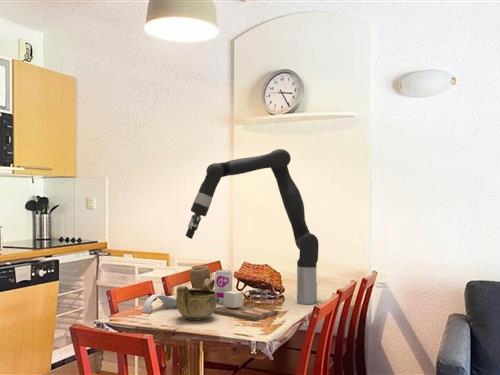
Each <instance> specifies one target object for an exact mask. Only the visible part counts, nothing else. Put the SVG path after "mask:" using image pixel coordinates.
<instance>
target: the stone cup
mask: <svg viewBox="0 0 500 375" xmlns="http://www.w3.org/2000/svg"><path fill="white" fill-rule="evenodd" d="M189 277H190V281H191V284H192V285H193V289H201V288H202V287H203V284H204V281H205V280H206V279H211V270H210V268H209V266H206V265H205V266H196V267H192V268H191V269H190V270H189ZM213 291H215V289H213Z"/></svg>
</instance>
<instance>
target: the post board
mask: <svg viewBox="0 0 500 375" xmlns="http://www.w3.org/2000/svg"><path fill="white" fill-rule="evenodd" d="M212 314H214V315H215V314H216V315H220V316H224V317H231V318H236V319H241V320H247V321H251V322H257V321H261V320H265V319H267V318H268V319H269V318H270V317H271V318H272V317H275V316H277V315H279V311H278V310H274V309H267V308H262V307H256V306H249V305H244V304H243V306H240V307H236V308H232V307H226V306H224V305H223V306H219V307H216V309H215V311H214V312H213V313H212Z"/></svg>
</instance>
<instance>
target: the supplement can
mask: <svg viewBox="0 0 500 375" xmlns="http://www.w3.org/2000/svg"><path fill="white" fill-rule="evenodd" d="M214 281H215V284H214V290H215V291H216V292H217V305H224V292H227V291H232V290H233V273H232V271H231V270H230V269H218V270H216V271H215V273H214Z"/></svg>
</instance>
